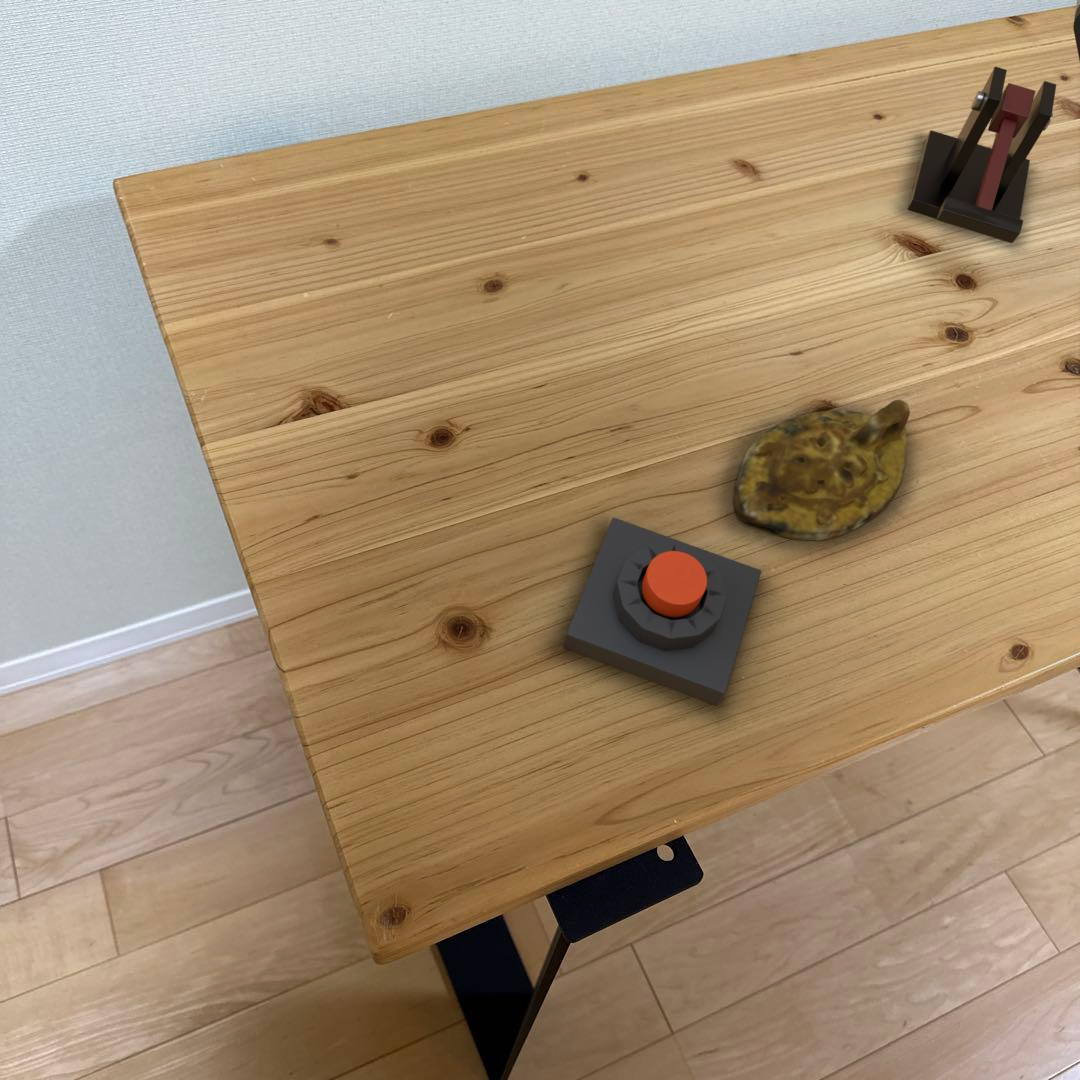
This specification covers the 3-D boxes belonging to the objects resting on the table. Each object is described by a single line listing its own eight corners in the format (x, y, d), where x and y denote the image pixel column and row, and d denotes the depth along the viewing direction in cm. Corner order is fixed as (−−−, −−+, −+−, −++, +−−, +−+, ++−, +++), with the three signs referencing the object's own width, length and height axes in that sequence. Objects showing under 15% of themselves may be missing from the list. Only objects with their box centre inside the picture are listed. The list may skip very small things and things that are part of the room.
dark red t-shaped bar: (1009, 248, 76) (1023, 229, 74) (933, 224, 77) (945, 205, 74) (1044, 118, 80) (1059, 97, 77) (972, 97, 80) (985, 75, 78)
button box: (752, 586, 64) (770, 556, 60) (716, 707, 59) (733, 682, 56) (608, 533, 65) (617, 501, 61) (562, 649, 60) (569, 621, 57)
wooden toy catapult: (1010, 244, 82) (1074, 145, 74) (906, 211, 83) (958, 110, 75) (1022, 172, 87) (1084, 71, 79) (924, 142, 88) (974, 39, 80)
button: (707, 576, 60) (714, 563, 58) (691, 626, 58) (698, 613, 56) (651, 556, 60) (656, 542, 58) (633, 605, 58) (639, 591, 57)
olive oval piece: (782, 583, 65) (932, 478, 70) (810, 555, 61) (967, 446, 66) (695, 477, 68) (846, 384, 73) (716, 443, 63) (874, 346, 68)
